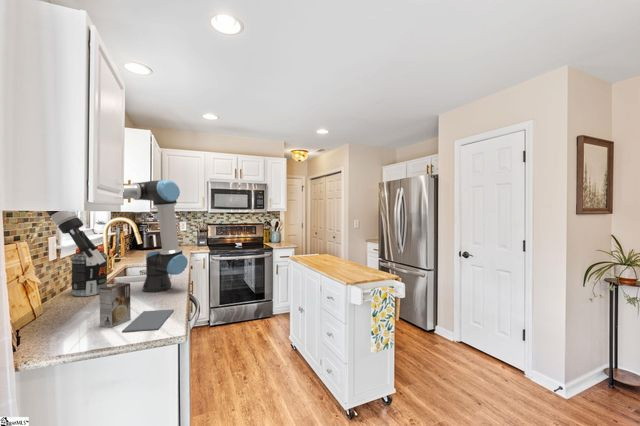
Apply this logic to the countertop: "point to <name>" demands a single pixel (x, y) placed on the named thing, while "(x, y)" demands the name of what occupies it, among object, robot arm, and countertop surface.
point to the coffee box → (114, 304)
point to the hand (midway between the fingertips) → (99, 263)
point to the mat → (149, 321)
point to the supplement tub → (88, 274)
